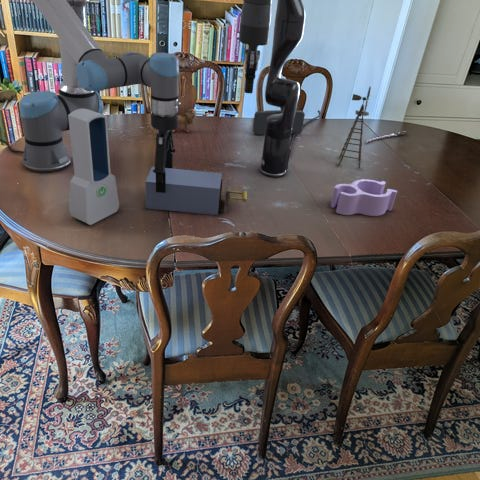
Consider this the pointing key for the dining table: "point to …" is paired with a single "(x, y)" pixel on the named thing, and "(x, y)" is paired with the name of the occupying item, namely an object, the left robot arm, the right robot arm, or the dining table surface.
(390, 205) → the clip
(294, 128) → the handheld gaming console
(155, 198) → the cabinet
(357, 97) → the miniature windmill
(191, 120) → the lion figurine
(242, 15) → the right robot arm
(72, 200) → the electronic device
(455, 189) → the dining table surface
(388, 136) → the sword
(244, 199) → the drawer
